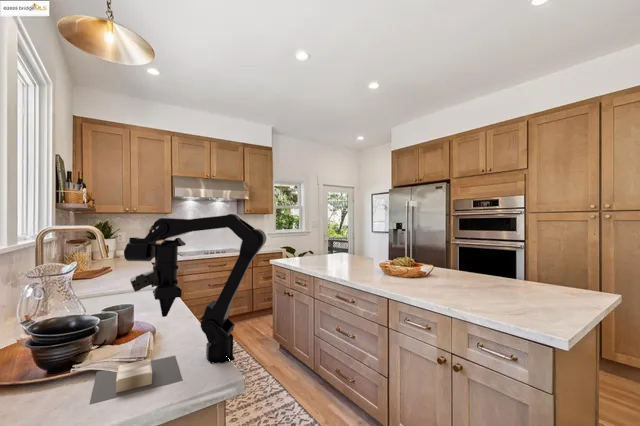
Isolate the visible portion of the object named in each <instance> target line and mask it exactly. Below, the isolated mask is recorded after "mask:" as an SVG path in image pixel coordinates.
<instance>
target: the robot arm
mask: <svg viewBox="0 0 640 426" xmlns="http://www.w3.org/2000/svg"><path fill="white" fill-rule="evenodd" d="M225 228H228V229H230V230H231V231H232V233H234V234H235V235H236V236H237V237H238V238H239V239H240V240H241V244H240V248H239V254H238V257H237V259H236V262H235V264H234V265H233V268H232V269H231V271H230V274H229V276H228V278H227V279H226V281H225V284H224V286H223V288H222V290H221V292H220V294H219V296H218V298H217V299H216V300H212V301H211V302H210V303H209V304H208V305H207V306H206V307H205V310H204V312H203V313H204V314H203V315H202V316H201V317H200V318H199V320H200V321H201V322H200V329H201V331H202V332H203V333H204V335H205V337H206V339H207V343H206V349H205V350H206V352H205V354H206V355H205V356H206V360H207V361H208V362H210V364H211V365H214V364H218V363H219V364H223V363H228V362H232V361H235V359H236V358H235V356H234V335H233V334H232V332H233V331H234V329H235V325H236V324H235V323H234V322H233V321H232V320H231V319H230V318H229V315H230V311H231V307H232V303H233V300H234V298H235V297H236V294H237V292H238V290H239V288H240V286H241V284H242V282H243V280H244V277H245V276H246V274H247V272H248V269H249V267H250V265H251V263H252V261H253V260H254V258H255V257H256V256H257V255H258V253H259V252H260V251H261V250H262V248H263V246H265V244H266V242H267V235H266V233H265V231H264V230H262V229H260V228H255V227H253V226H252V225H250V224H249V223H248V222H246V221H245V220H243V219H242V218H241V217H240V216H239V215H237V214H233V213H228V214H225V215H217V216H208V217H207V216H206V217H199V218H188V219H187V218H176V217H166V218H165V217H161V218H158V219H156V220H155V221H154V222H153V225H152V228H151V230H150V231H149V232H148V233H147V235H145V237H138V236H131V237H129V238H128V239H129V241H128V243H127V244H126V245H125V248H124V250H123V256H124V259H125V261H127V262H151V261H152V260H153V259H154V264H153V266H152V270H150V271H147V272H144V273H141V274H138V275H135V276H134V277H131V278H130V279H129V281H130V285H131V286H132V289H133V291H134V292H139V291H141V290H142V289H144V288H148V287H149V286H151V288H154V287H155V288H154V289H153V290H152V294H153V297H154V301H155V300H156V301H158V302H159V307H160V312H161V317H163V318H164V317H168V314H169V313H170V311H171V308H172V306H173V304H174V302H175V300H176V299H177V298H180V297H182V291H183V290H182V287H180V285H178V284H179V283H178V281H179V280H178V279H177V278H178V270H179V265H178V253H179V252H178V250H179V247H183V246H186V244H187V243H186V242H185V241H184V240H182V238H181V237H180V236H183V235H185V234H189V233H192V232H200V231H207V230H208V231H209V230H214V229H215V230H216V229H225ZM178 236H179V237H178ZM169 238H171V239H169ZM172 238H174V239H172ZM160 241H162V242H161V243H159V242H160ZM226 356H227V357H226ZM228 358H229V359H230V361H229V359H228Z"/></svg>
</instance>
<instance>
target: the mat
mask: <svg viewBox="0 0 640 426" xmlns="http://www.w3.org/2000/svg"><path fill="white" fill-rule="evenodd" d="M150 360H151V359H150ZM151 368H152V384H150V385H146V386H142V387H138V388H134V389H130V390H126V391H122V392H118V393H116V378H117V372H109V371H104V370H100V371H96V374H95V379H94V383H93V387H92V391H91V395H90V396H91V397H90V401H89V405H93V404H97V403H101V402H105V401H108V400H111V399H112V400H113V399H116V398H120V397H124V396H127V395H128V396H129V395H132V394H135V393H139V392H140V393H141V392H144V391H148V390H152V389H155V388H160V387H162V386H167V385H171V384H175V383H178V382H183V377H182V373H181V369H180V367H179V363H178V360H177V356H176V355H170V356H167V357H162V358H156V359H152V360H151Z"/></svg>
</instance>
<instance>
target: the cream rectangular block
mask: <svg viewBox="0 0 640 426" xmlns="http://www.w3.org/2000/svg"><path fill="white" fill-rule="evenodd" d="M117 368H118V369H117V378H116V393H118V392H122V391H126V390H130V389H134V388H138V387H142V386H146V385H150V384H152V368H151V359H150V358H148V359H143V360H139V361H134V362H130V363H125V364H120V365H117Z"/></svg>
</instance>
